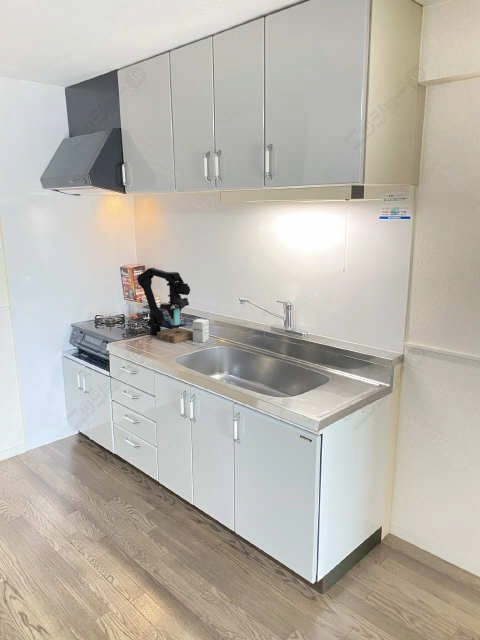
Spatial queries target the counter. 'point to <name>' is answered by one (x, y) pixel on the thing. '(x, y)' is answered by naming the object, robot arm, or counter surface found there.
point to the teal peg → (175, 316)
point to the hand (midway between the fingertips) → (175, 318)
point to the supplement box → (200, 330)
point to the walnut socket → (175, 335)
